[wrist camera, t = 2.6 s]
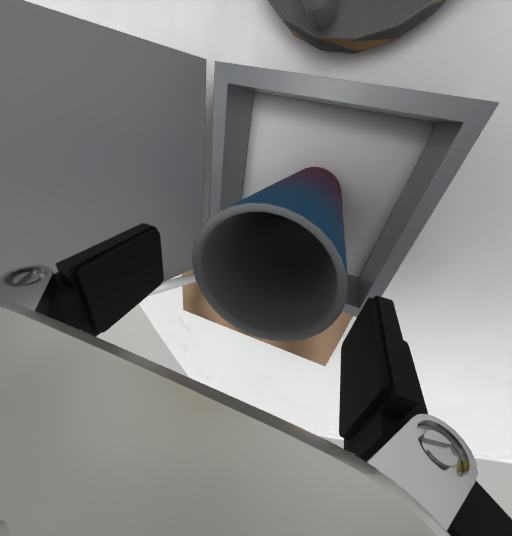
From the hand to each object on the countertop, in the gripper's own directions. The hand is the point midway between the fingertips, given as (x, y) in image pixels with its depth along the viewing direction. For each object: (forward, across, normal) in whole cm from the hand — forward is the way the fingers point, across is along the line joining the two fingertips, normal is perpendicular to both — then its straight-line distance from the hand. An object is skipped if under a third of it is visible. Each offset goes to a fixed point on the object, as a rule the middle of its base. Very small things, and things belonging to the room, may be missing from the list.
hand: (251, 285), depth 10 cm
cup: (+15, -1, -1) cm, 15 cm away
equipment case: (+15, +1, -1) cm, 15 cm away
